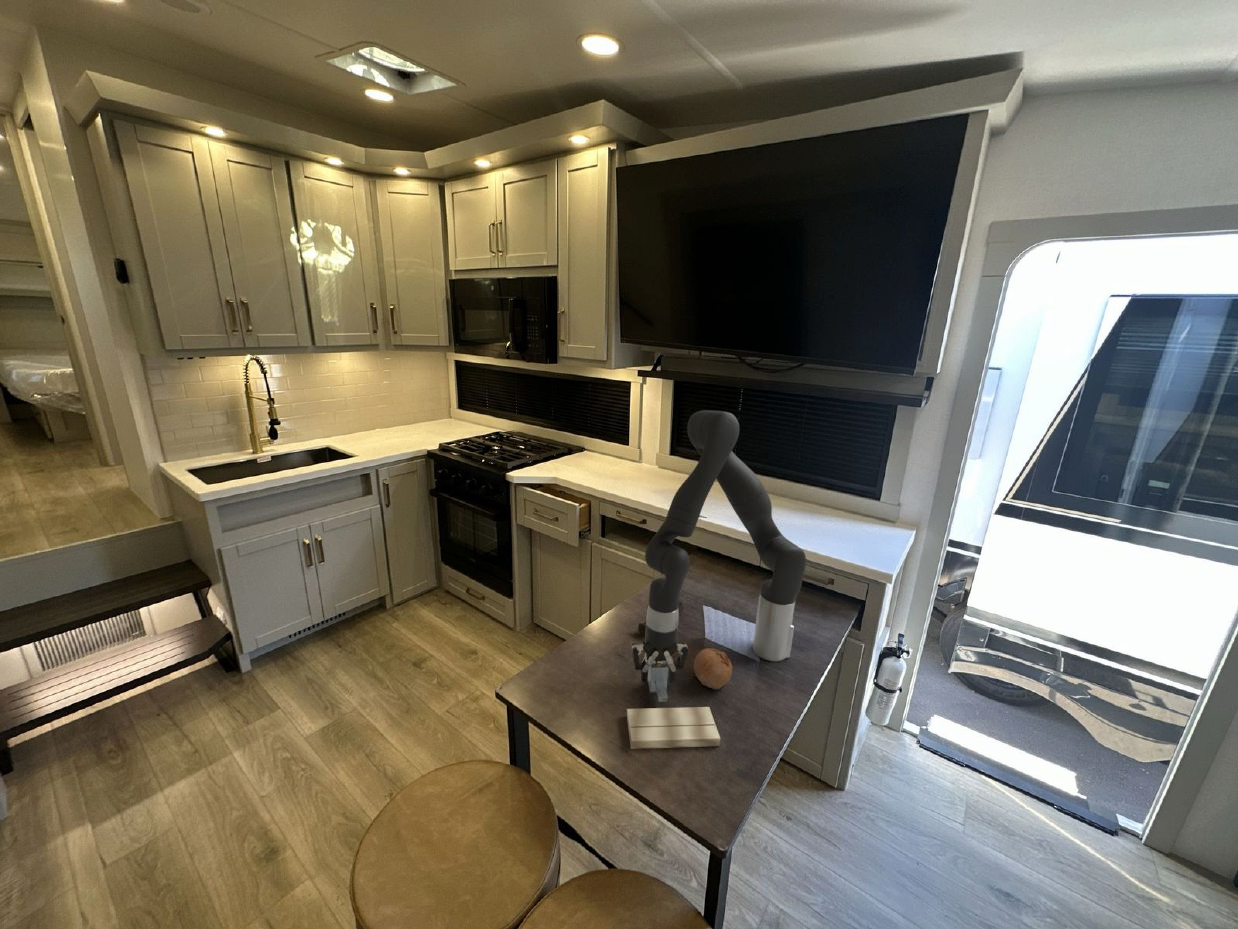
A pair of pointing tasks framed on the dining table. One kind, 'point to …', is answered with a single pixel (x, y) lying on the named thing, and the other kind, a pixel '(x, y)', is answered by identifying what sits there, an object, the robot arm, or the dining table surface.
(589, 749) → the dining table surface
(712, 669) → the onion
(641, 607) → the dining table surface
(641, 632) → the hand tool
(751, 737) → the dining table surface
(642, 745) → the board
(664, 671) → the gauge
